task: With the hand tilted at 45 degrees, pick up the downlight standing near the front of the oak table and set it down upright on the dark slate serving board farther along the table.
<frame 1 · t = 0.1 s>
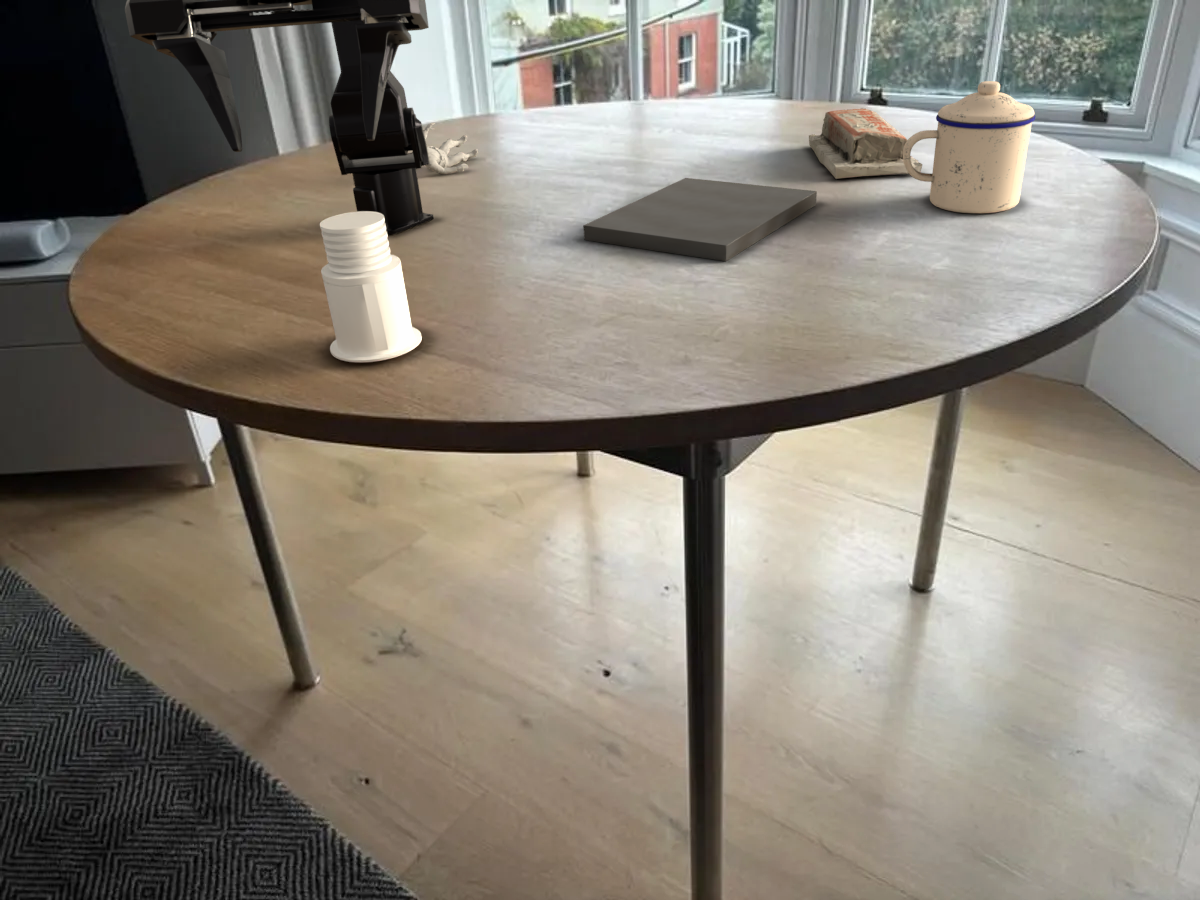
hand: (304, 145, 65), 15 cm above the table, tool pointing down, fingers open, 9 cm apart
packaged product: (860, 162, 114), on the table
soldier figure: (445, 170, 124), on the table
teacup with lid: (958, 204, 96), on the table
downlight: (377, 349, 72), on the table
slate board: (703, 222, 96), on the table
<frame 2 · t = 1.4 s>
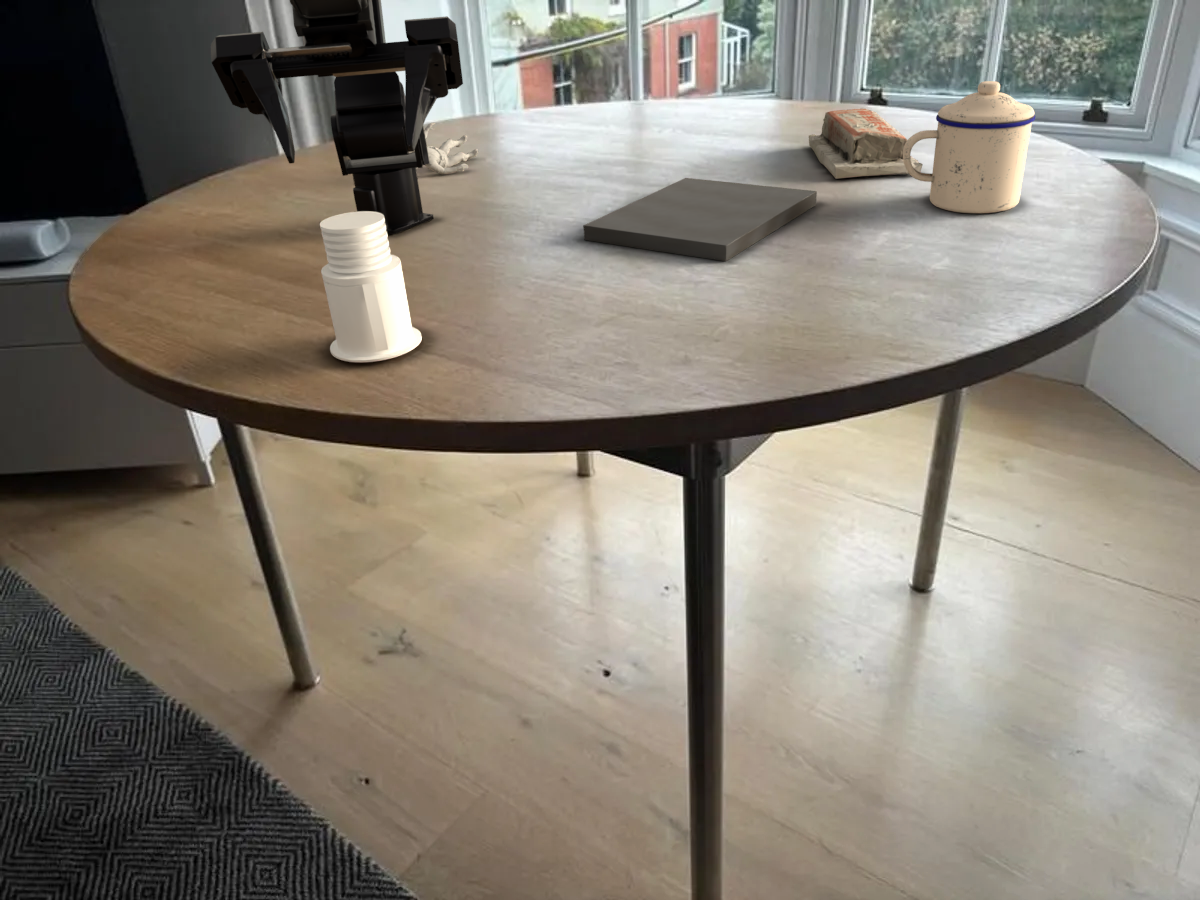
hand: (350, 154, 72), 13 cm above the table, tool tilted 45°, fingers open, 9 cm apart
nothing on the table moved.
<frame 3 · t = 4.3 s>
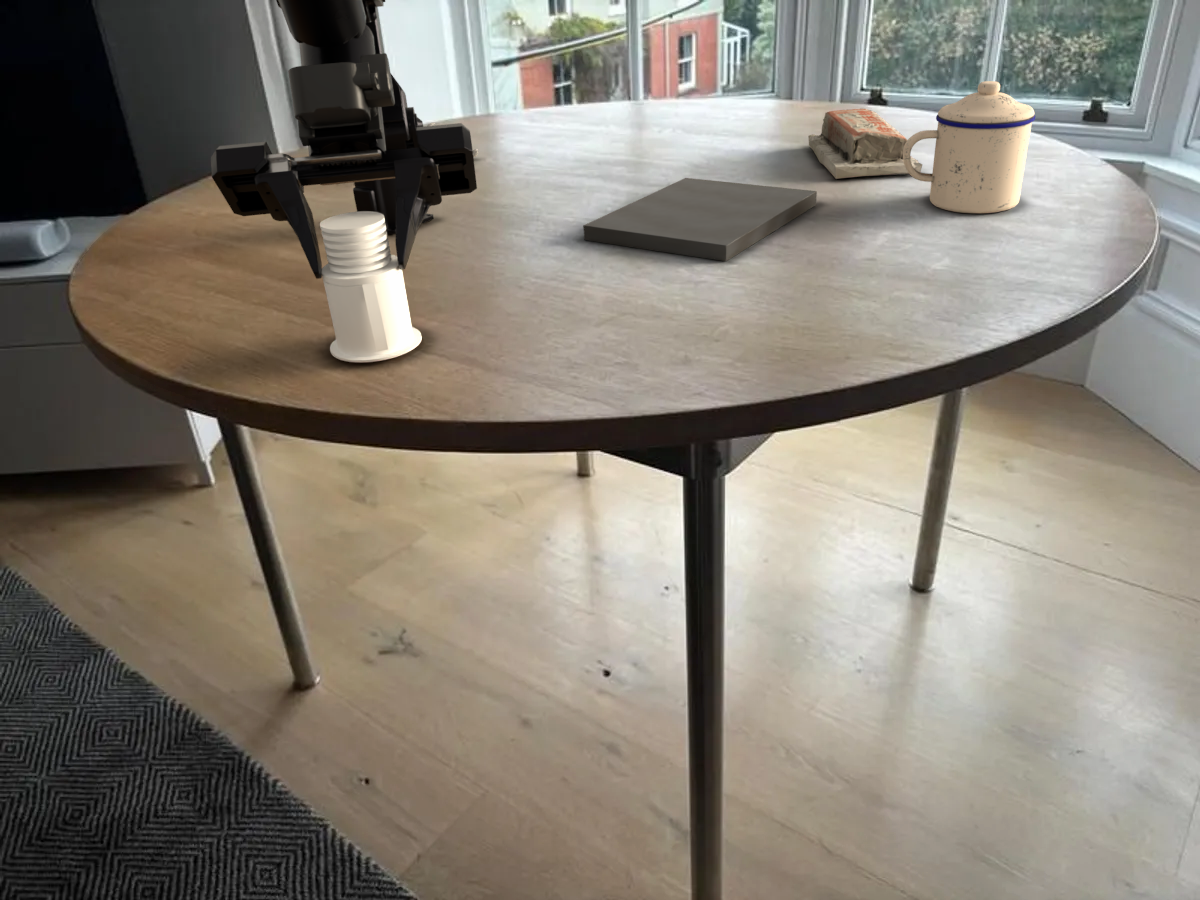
hand: (359, 271, 68), 7 cm above the table, tool tilted 45°, fingers closed on downlight, 6 cm apart
downlight: (377, 349, 72), on the table, touching gripper
everything else where it was.
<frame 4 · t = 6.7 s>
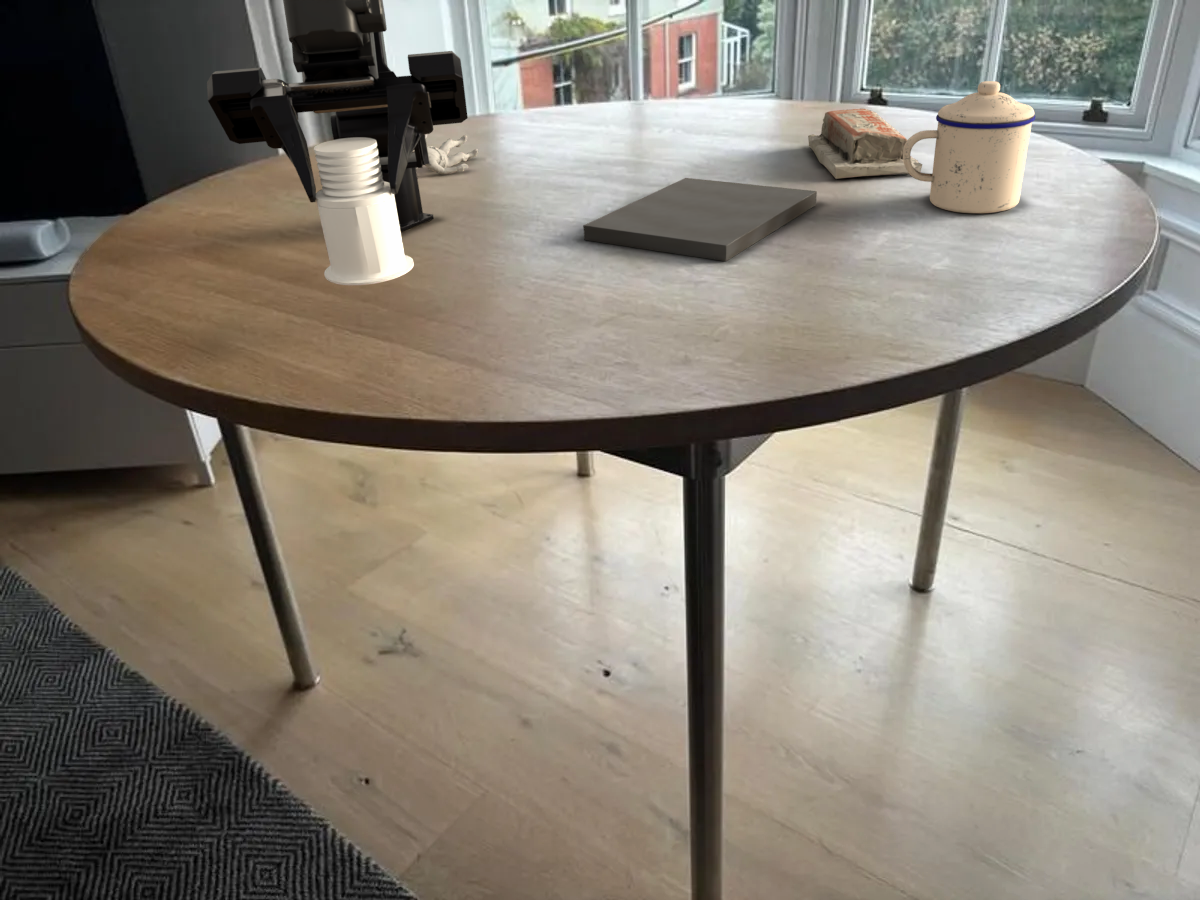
hand: (352, 195, 70), 11 cm above the table, tool tilted 45°, fingers closed on downlight, 6 cm apart
downlight: (370, 275, 74), point 4 cm above the table, touching gripper
everything else where it was.
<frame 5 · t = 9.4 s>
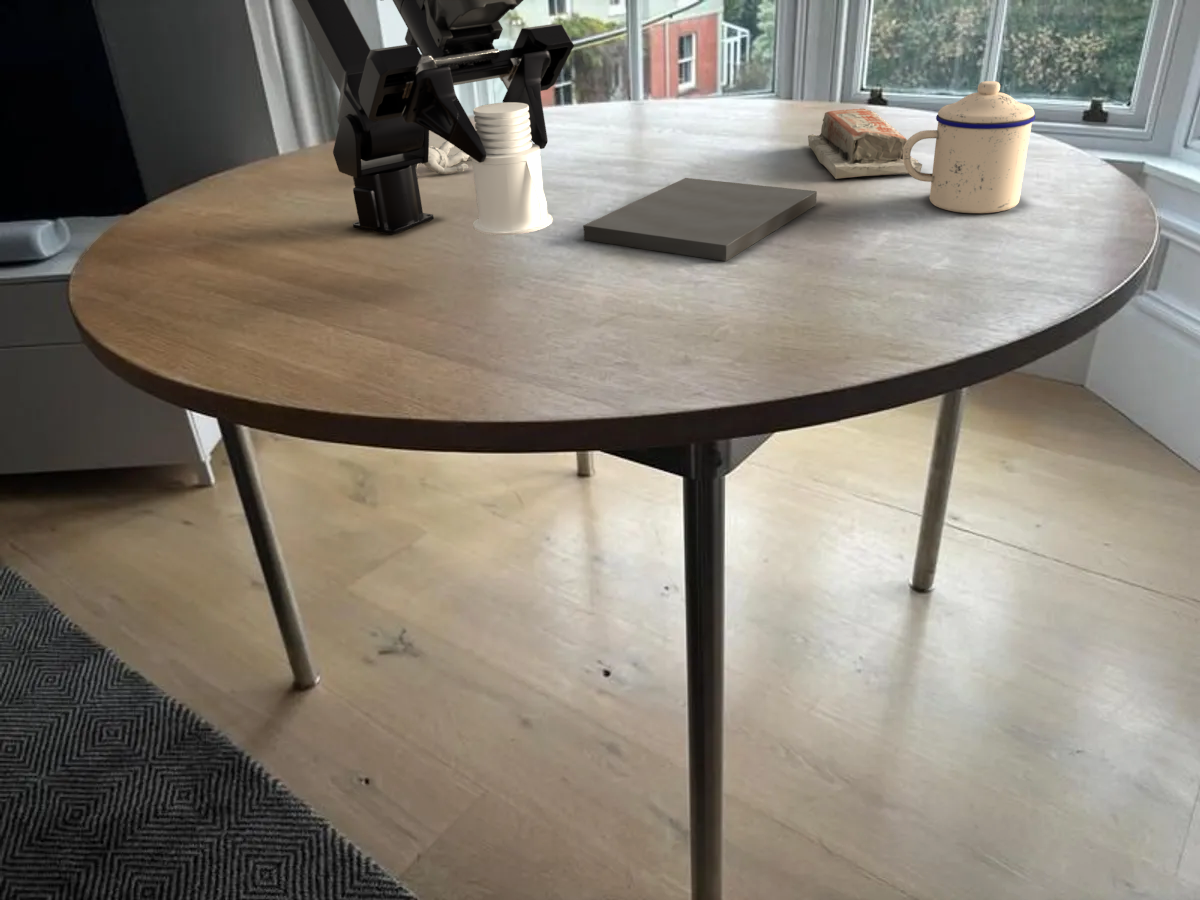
hand: (514, 152, 78), 11 cm above the table, tool tilted 45°, fingers closed on downlight, 6 cm apart
downlight: (513, 228, 82), point 5 cm above the table, touching gripper
everything else where it was.
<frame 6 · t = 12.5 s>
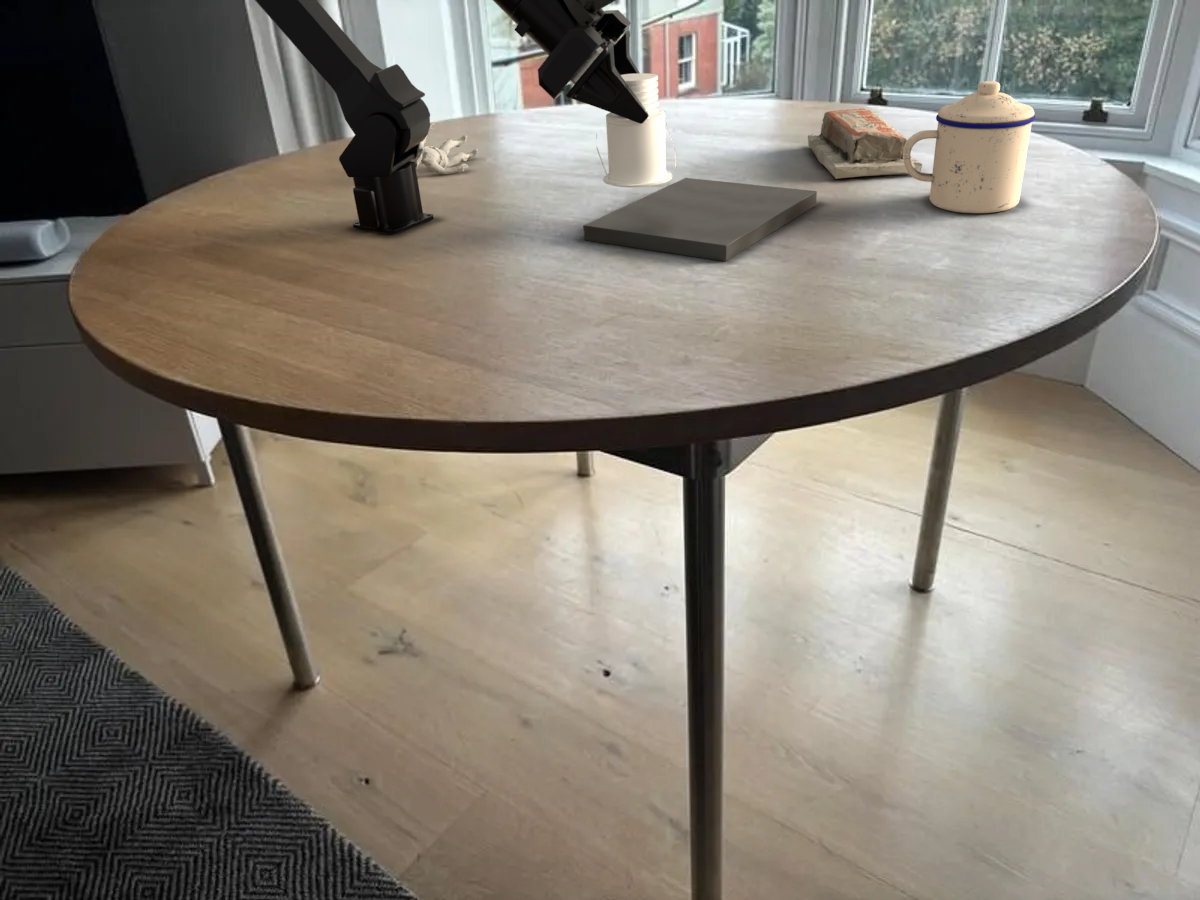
hand: (650, 113, 91), 11 cm above the table, tool tilted 45°, fingers closed on downlight, 6 cm apart
downlight: (637, 183, 95), point 4 cm above the table, touching gripper
everything else where it was.
when the fingers open (8 cm above the table, at t = 15.0 s): downlight stays where it is, resting on slate board.
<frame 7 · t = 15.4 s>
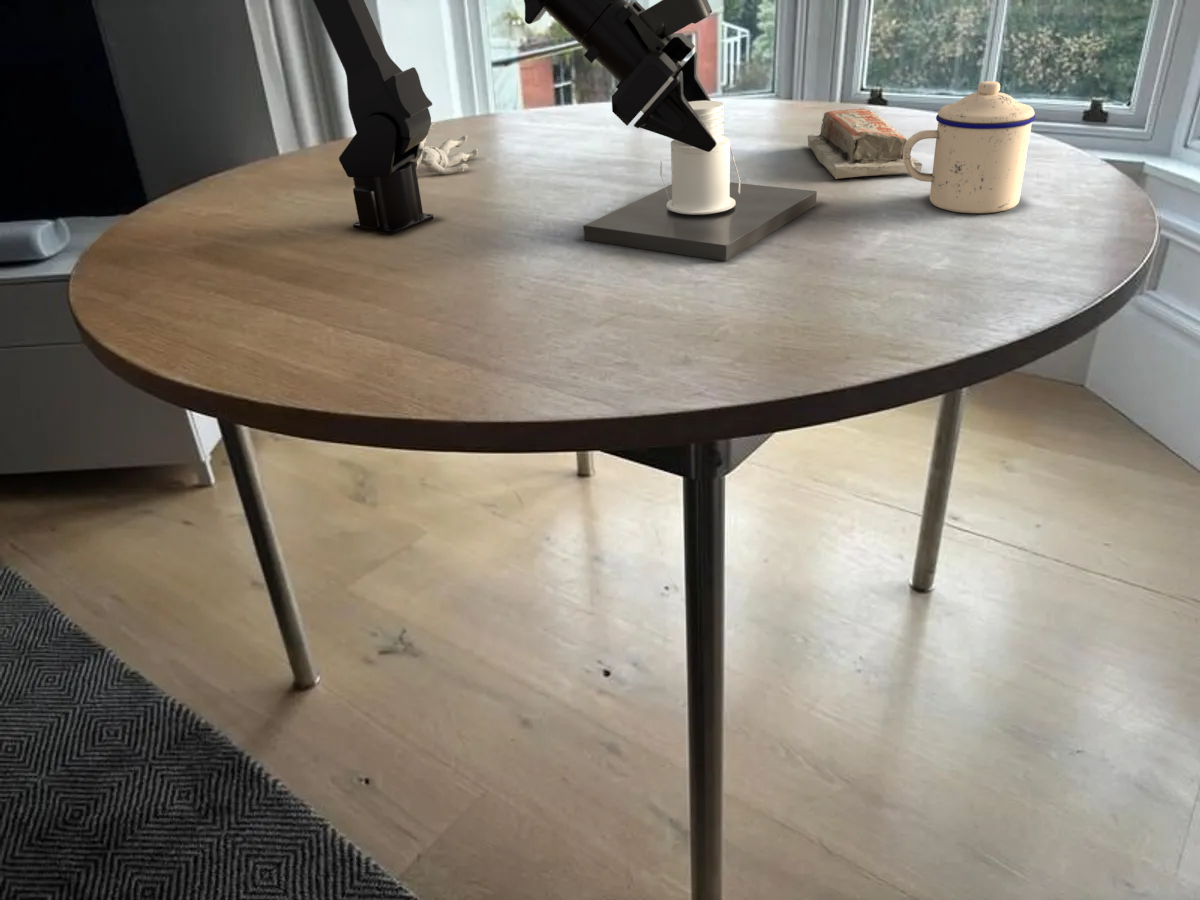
hand: (717, 137, 91), 8 cm above the table, tool tilted 45°, fingers open, 9 cm apart
downlight: (700, 209, 95), point 1 cm above the table, touching slate board
everything else where it was.
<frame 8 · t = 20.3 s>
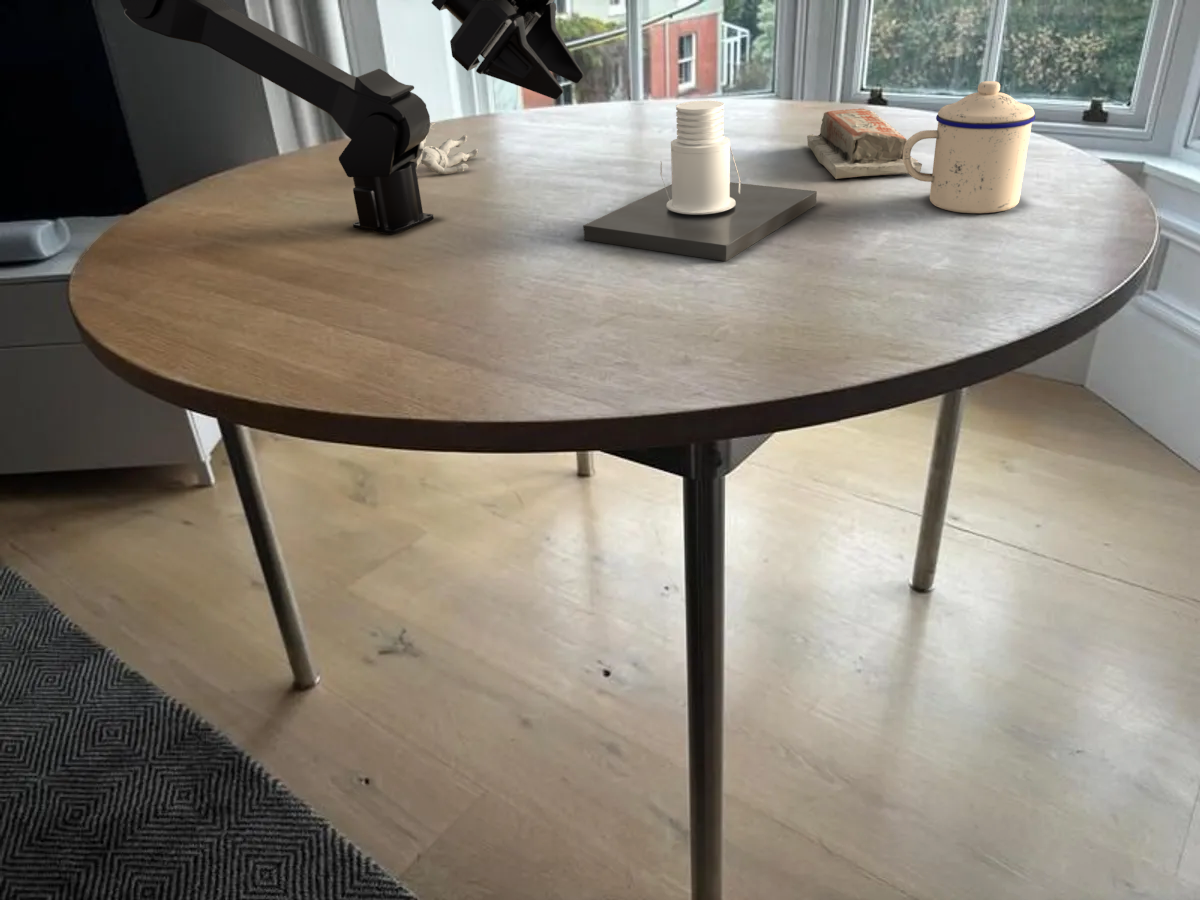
hand: (571, 87, 91), 14 cm above the table, tool tilted 45°, fingers open, 9 cm apart
nothing on the table moved.
at the end: downlight inside the target area on the slate board (0.2 cm from its centre), point 1.3 cm above the slate board's base; downlight tilted 0°; the gripper is holding nothing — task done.
